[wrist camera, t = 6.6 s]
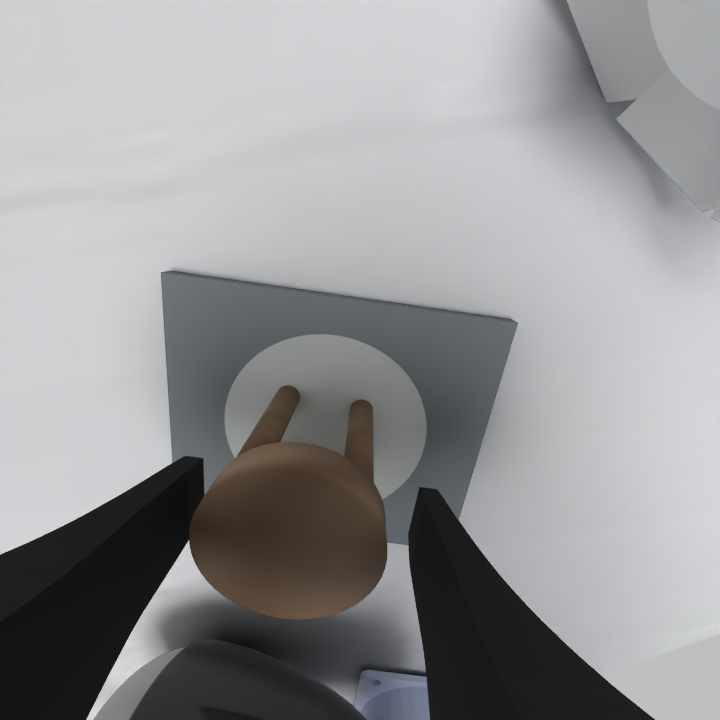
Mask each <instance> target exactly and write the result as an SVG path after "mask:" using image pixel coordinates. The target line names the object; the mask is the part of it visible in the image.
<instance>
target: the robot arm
mask: <svg viewBox="0 0 720 720" xmlns="http://www.w3.org/2000/svg"><path fill="white" fill-rule="evenodd" d="M203 497H204V458H199V457H191V456H184V457H182V458H180V459H178V460H177V461H175V462H173V463H172V464H170V465H169V466H167V467H165V468H164V469H162V470H160V471H159V472H157V473H156V474H154V475H152V476H151V477H149V478H148V479H146V480H144V481H143V482H141V483H139V484H138V485H136V486H134V487H133V488H131V489H129V490H128V491H126V492H124V493H123V494H121V495H119V496H118V497H116V498H114V499H112V500H110V501H109V502H107V503H105V504H103V505H101V506H100V507H98V508H96V509H94V510H92V511H91V512H89V513H87V514H85V515H83V516H82V517H80V518H78V519H76V520H74V521H72V522H70V523H68V524H66V525H64V526H62V527H60V528H58V529H56V530H54V531H52V532H50V533H48V534H46V535H44V536H41V537H39V538H37V539H35V540H33V541H31V542H29V543H26V544H24V545H22V546H20V547H17V548H15V549H13V550H10V551H8V552H5V553H3V554H1V555H0V720H86V719H87V717H88V715H89V713H90V711H91V709H92V707H93V705H94V703H95V701H96V699H97V697H98V695H99V693H100V691H101V689H102V687H103V685H104V683H105V681H106V679H107V677H108V675H109V673H110V671H111V669H112V668H113V666H114V664H115V662H116V660H117V658H118V656H119V654H120V652H121V651H122V649H123V647H124V645H125V643H126V641H127V639H128V637H129V635H130V634H131V632H132V630H133V628H134V626H135V625H136V623H137V621H138V620H139V618H140V616H141V615H142V613H143V611H144V610H145V608H146V606H147V605H148V603H149V602H150V600H151V599H152V597H153V595H154V594H155V592H156V591H157V589H158V588H159V586H160V585H161V583H162V581H163V580H164V578H165V577H166V575H167V574H168V572H169V570H170V569H171V567H172V566H173V564H174V563H175V561H176V559H177V558H178V556H179V555H180V553H181V551H182V550H183V548H184V547H185V545H186V543H187V542H188V540H189V530H190V524H191V520H192V517H193V514H194V512H195V510H196V509H197V507H198V505H199V503H200V502H201V500H202V499H203ZM408 543H409V561H410V571H411V577H412V583H413V589H414V596H415V602H416V608H417V614H418V620H419V626H420V632H421V638H422V644H423V650H424V658H425V666H426V677H424V676H416V675H408V674H400V673H392V672H384V671H375V670H364V671H363V672H362V673H361V675H360V680H359V684H358V689H357V693H356V698H355V703H354V707H355V708H356V709H357V710H359V711H360V712H361V713H362V714H363V715H364V716H365V718H366V719H367V720H655V719H653V718H652V717H651V716H650V715H648V714H647V713H646V712H645V711H643V710H642V709H641V708H640V707H638V706H637V705H636V704H635V703H633V702H632V701H631V700H630V699H628V698H627V697H626V696H625V695H623V694H622V693H621V692H620V691H618V690H617V689H616V688H615V687H614V686H612V685H611V684H610V683H609V682H608V681H607V680H606V679H604V678H603V677H602V676H601V675H600V674H599V673H597V672H596V671H595V670H594V669H593V668H592V667H591V666H589V665H588V664H587V663H586V662H585V661H584V660H583V659H582V658H580V657H579V656H578V655H577V654H576V653H575V652H574V651H573V650H572V649H571V648H569V647H568V646H567V645H566V644H565V643H564V642H563V641H562V640H561V639H560V638H559V637H558V636H557V635H556V634H555V633H554V632H553V631H552V630H551V629H550V628H549V627H548V626H547V625H546V624H545V623H544V622H543V621H541V620H540V618H539V617H538V616H537V615H536V614H535V613H534V612H533V611H532V610H531V609H530V608H529V607H528V606H527V605H526V604H525V603H524V602H523V601H522V600H521V598H520V597H519V596H518V595H517V594H516V593H515V592H514V591H513V590H512V589H511V588H510V586H509V585H508V584H507V583H506V582H505V581H504V580H503V578H502V577H501V576H500V575H499V574H498V572H497V571H496V570H495V569H494V567H493V566H492V565H491V564H490V562H489V561H488V560H487V559H486V557H485V556H484V555H483V554H482V552H481V551H480V550H479V548H478V547H477V546H476V544H475V543H474V541H473V540H472V539H471V537H470V536H469V535H468V533H467V532H466V530H465V529H464V528H463V526H462V525H461V523H460V522H459V520H458V519H457V517H456V516H455V514H454V513H453V511H452V510H451V508H450V507H449V505H448V504H447V502H446V501H445V499H444V498H443V496H442V495H441V493H440V492H439V491H438V489H432V488H424V487H419V491H418V495H417V499H416V503H415V507H414V511H413V515H412V520H411V524H410V528H409V532H408Z"/></svg>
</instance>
